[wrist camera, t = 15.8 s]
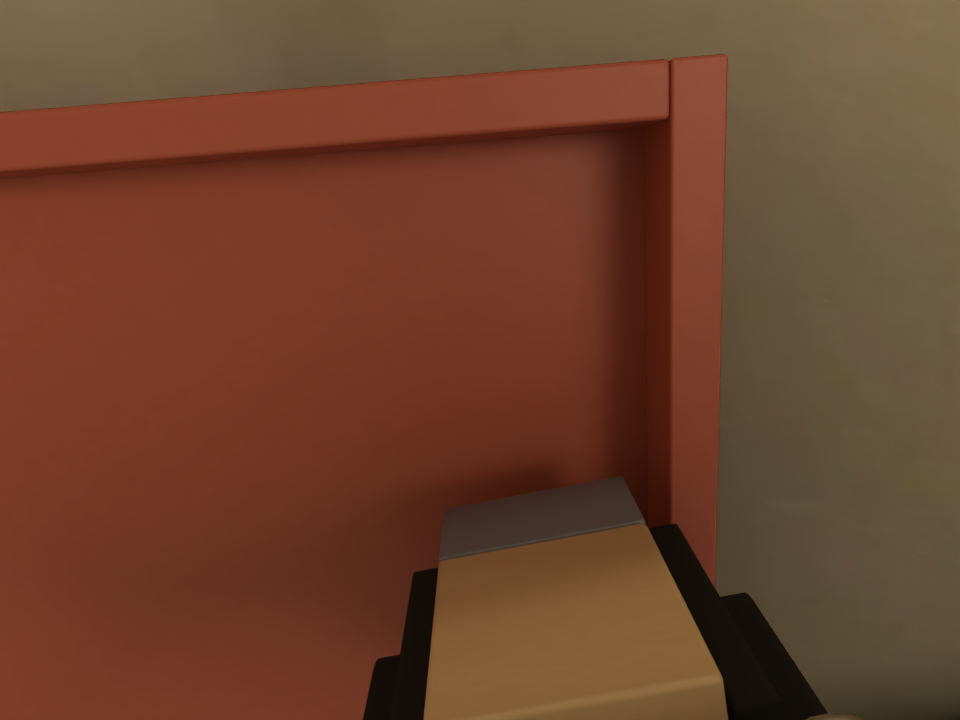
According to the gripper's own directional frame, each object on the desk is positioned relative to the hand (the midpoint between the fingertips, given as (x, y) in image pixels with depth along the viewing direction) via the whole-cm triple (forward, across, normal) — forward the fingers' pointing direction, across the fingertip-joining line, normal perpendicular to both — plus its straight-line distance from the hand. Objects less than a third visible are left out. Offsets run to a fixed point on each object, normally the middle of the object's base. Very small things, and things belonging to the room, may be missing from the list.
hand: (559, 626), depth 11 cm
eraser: (0, 0, 0) cm, 0 cm away
